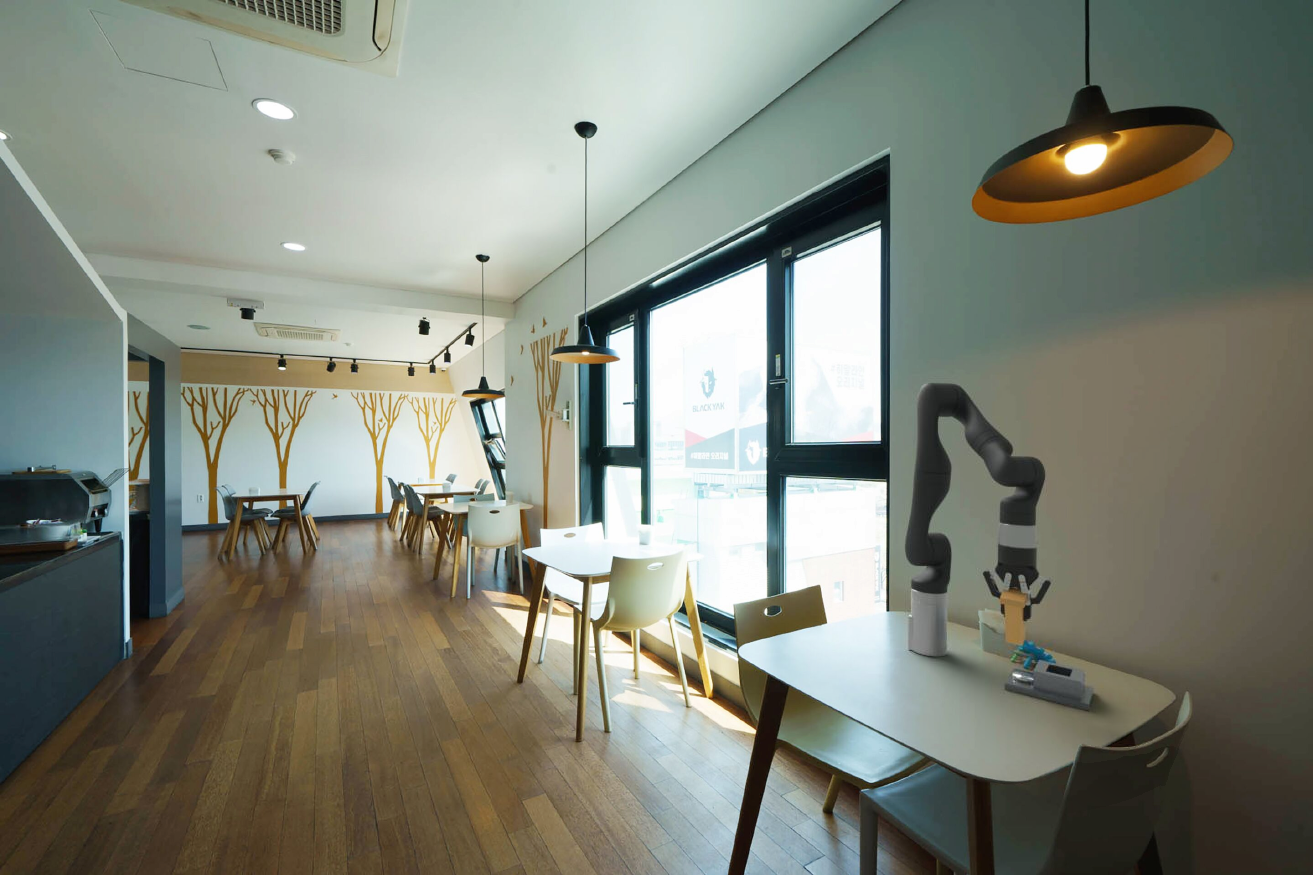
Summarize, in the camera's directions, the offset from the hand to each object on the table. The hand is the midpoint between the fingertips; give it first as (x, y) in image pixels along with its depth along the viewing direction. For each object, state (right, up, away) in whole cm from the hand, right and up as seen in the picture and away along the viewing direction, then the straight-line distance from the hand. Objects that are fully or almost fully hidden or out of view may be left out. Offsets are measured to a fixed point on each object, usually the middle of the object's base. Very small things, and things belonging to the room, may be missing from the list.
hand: (1015, 618), depth 129 cm
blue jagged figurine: (+17, -19, +20) cm, 33 cm away
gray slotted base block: (+11, -19, +5) cm, 22 cm away
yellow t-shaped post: (0, -5, 0) cm, 5 cm away
